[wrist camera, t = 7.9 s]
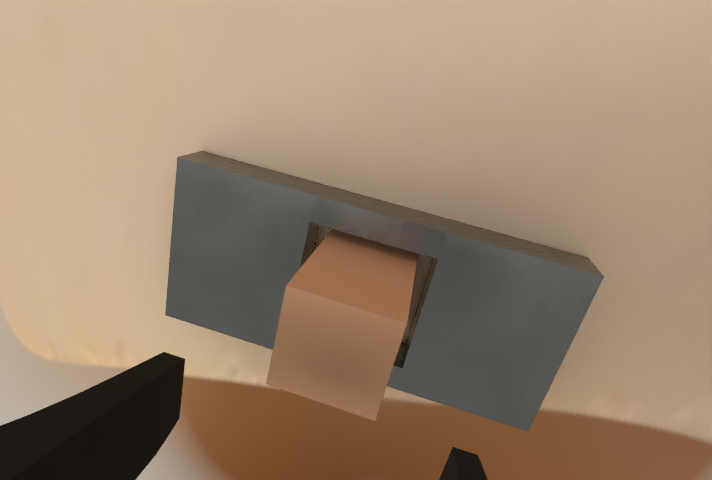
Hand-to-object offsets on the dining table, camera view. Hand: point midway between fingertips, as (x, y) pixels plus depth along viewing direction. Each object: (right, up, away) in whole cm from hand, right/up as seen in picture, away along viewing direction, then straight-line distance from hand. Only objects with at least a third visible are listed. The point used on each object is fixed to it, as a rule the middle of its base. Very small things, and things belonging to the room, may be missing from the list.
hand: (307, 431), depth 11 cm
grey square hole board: (+2, +3, +10) cm, 10 cm away
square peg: (+2, +3, +10) cm, 10 cm away
